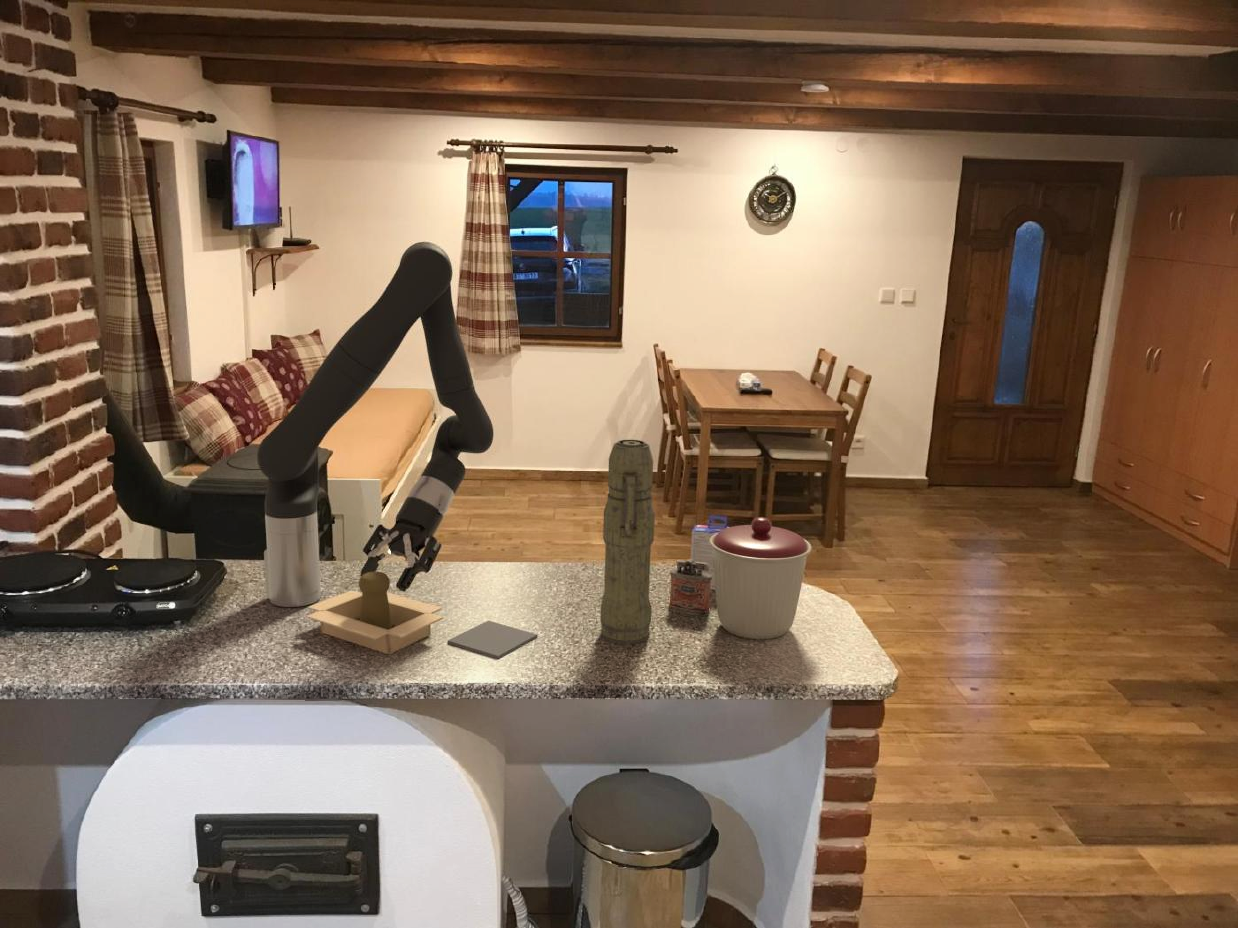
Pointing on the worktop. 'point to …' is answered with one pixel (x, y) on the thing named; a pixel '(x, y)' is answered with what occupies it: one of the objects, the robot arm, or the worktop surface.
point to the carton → (342, 624)
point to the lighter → (690, 588)
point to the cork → (375, 600)
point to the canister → (758, 578)
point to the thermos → (628, 544)
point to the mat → (492, 639)
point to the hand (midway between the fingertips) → (382, 584)
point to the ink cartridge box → (706, 544)
